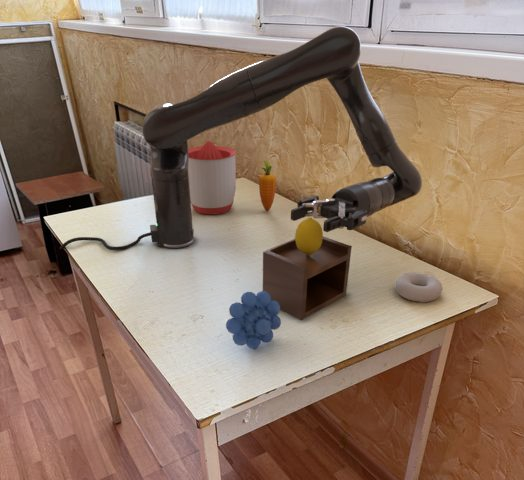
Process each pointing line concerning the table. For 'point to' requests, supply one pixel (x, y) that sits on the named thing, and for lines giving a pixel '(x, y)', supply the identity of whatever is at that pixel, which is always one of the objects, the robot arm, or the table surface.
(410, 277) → the donut
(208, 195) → the citrus juicer
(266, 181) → the carrot
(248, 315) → the grapes
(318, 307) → the tray
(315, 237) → the lemon
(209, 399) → the table surface
